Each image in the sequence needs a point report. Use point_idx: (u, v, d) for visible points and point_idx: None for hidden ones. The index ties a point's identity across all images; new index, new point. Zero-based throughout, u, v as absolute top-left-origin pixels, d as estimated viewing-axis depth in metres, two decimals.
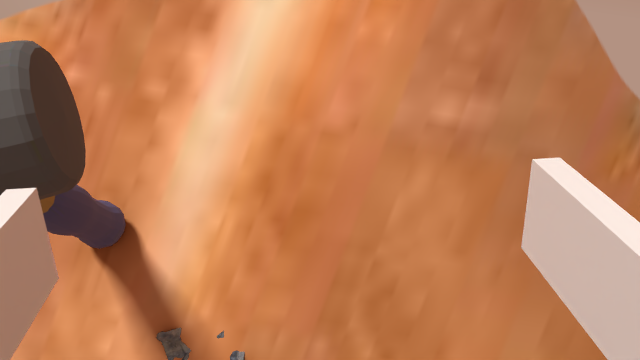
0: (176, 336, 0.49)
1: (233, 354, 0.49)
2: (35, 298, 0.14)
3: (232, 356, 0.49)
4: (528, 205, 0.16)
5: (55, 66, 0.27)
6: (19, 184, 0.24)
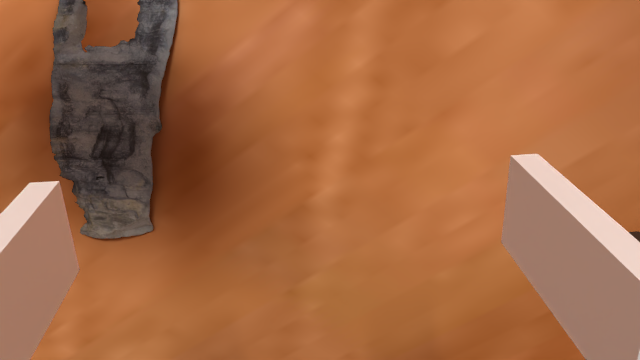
0: None
1: None
2: (59, 289, 0.15)
3: None
4: (507, 201, 0.17)
5: None
6: None
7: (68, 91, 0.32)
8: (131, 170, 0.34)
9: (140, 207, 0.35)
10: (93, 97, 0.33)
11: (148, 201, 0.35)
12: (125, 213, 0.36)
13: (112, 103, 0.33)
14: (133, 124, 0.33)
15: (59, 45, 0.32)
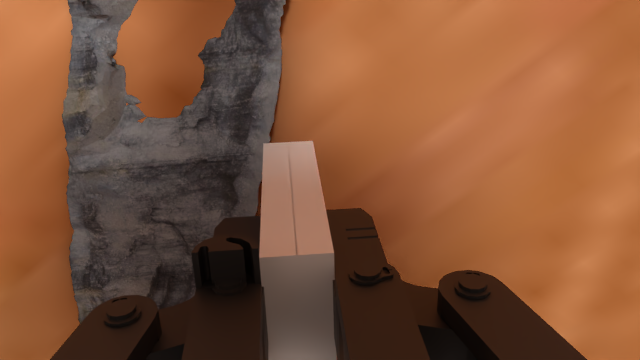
0: None
1: None
2: None
3: None
4: None
5: None
6: None
7: (99, 218, 0.19)
8: None
9: None
10: (141, 221, 0.19)
11: None
12: None
13: (174, 229, 0.19)
14: None
15: (75, 143, 0.18)
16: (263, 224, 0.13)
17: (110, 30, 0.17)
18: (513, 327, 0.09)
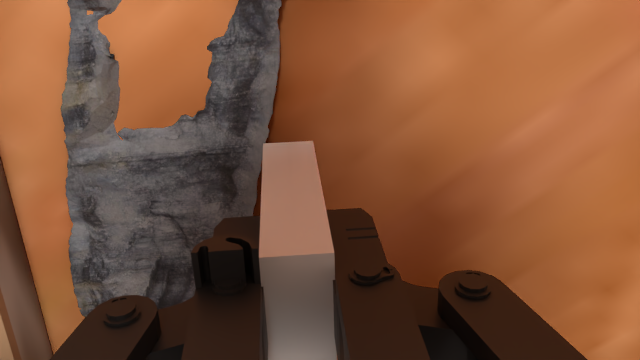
0: None
1: None
2: None
3: None
4: None
5: None
6: None
7: (98, 211, 0.19)
8: None
9: None
10: (140, 214, 0.19)
11: None
12: None
13: (173, 222, 0.19)
14: None
15: (74, 135, 0.18)
16: (263, 224, 0.13)
17: None
18: (513, 327, 0.09)
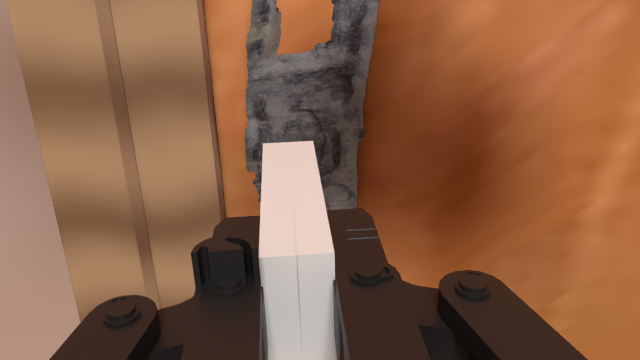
0: None
1: None
2: None
3: None
4: None
5: None
6: None
7: (266, 108, 0.30)
8: (335, 184, 0.31)
9: None
10: (291, 111, 0.30)
11: None
12: None
13: (312, 114, 0.30)
14: (337, 134, 0.30)
15: (253, 60, 0.29)
16: (263, 224, 0.13)
17: None
18: (514, 327, 0.09)
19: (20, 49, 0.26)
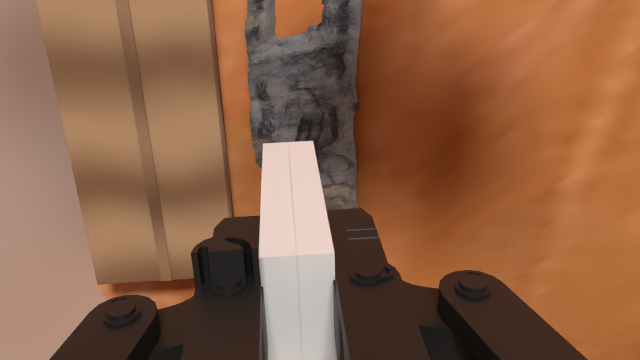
0: None
1: None
2: None
3: None
4: None
5: None
6: None
7: (267, 90, 0.33)
8: (336, 155, 0.34)
9: (347, 191, 0.35)
10: (290, 90, 0.33)
11: (354, 183, 0.35)
12: (332, 200, 0.36)
13: (309, 92, 0.33)
14: (334, 109, 0.33)
15: (252, 46, 0.32)
16: (263, 224, 0.13)
17: None
18: (514, 327, 0.09)
19: (44, 28, 0.28)
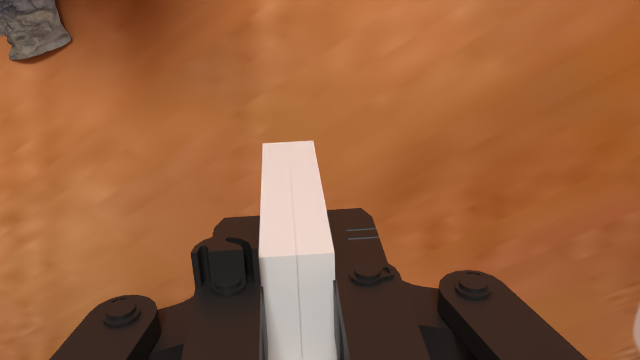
0: None
1: None
2: None
3: None
4: None
5: None
6: None
7: None
8: None
9: (50, 16, 0.38)
10: None
11: (54, 7, 0.38)
12: (40, 26, 0.38)
13: None
14: None
15: None
16: (263, 224, 0.13)
17: None
18: (514, 327, 0.09)
19: None
